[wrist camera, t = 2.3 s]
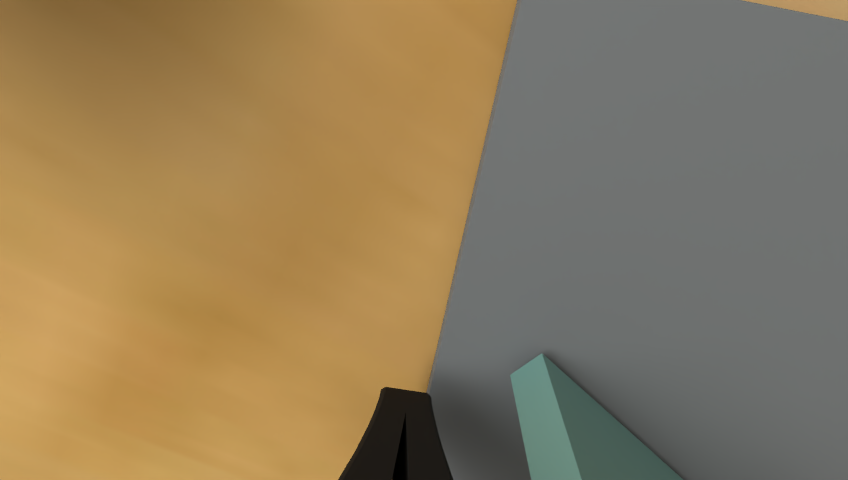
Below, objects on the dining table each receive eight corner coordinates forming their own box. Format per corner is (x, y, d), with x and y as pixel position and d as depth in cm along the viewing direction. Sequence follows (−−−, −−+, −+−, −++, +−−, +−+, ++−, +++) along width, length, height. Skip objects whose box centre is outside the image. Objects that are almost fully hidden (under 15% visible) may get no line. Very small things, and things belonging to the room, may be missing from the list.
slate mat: (772, 590, 19) (782, 606, 18) (392, 538, 18) (391, 553, 18) (1249, 105, 10) (1295, 109, 9) (526, -37, 9) (531, -42, 9)
